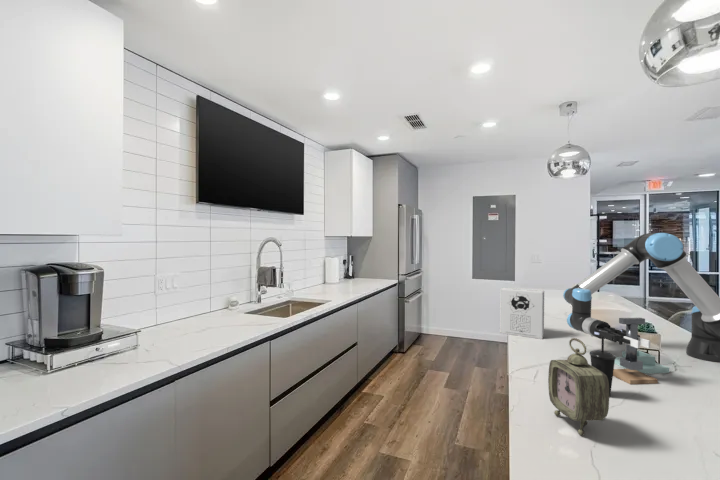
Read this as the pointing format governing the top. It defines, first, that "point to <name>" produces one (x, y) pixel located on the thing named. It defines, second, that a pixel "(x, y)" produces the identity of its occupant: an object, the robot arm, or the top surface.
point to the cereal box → (522, 312)
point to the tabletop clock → (578, 388)
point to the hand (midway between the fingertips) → (644, 344)
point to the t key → (631, 351)
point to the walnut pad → (633, 376)
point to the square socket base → (646, 363)
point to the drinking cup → (604, 362)
